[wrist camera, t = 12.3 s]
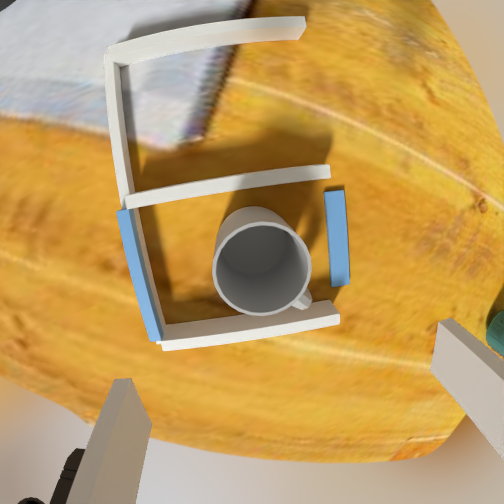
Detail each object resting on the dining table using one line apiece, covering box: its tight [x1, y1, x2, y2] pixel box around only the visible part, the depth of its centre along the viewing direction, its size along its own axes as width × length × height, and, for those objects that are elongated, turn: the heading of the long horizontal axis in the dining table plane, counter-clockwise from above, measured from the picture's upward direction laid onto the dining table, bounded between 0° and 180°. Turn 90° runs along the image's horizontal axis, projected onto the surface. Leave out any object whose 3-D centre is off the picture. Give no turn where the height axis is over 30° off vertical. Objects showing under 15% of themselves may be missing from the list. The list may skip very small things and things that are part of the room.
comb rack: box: [103, 16, 350, 351], centre depth 28 cm, size 30×21×4 cm
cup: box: [212, 206, 313, 316], centre depth 28 cm, size 7×10×9 cm
